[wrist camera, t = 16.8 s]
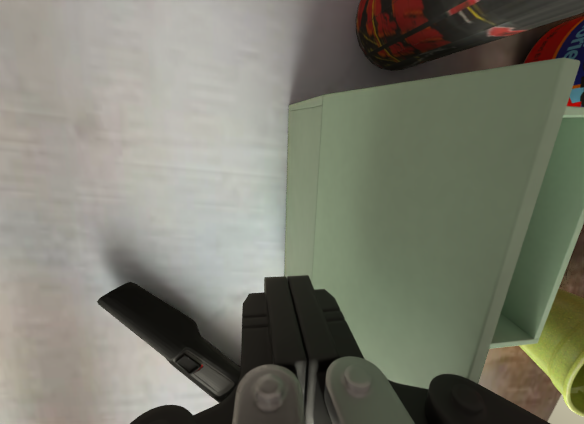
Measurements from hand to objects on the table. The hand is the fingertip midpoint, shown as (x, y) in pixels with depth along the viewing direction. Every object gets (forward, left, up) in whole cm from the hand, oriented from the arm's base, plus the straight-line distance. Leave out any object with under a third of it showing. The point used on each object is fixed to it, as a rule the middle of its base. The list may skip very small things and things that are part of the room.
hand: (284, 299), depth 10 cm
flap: (+3, 0, +1) cm, 3 cm away
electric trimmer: (-6, -13, -13) cm, 19 cm away
